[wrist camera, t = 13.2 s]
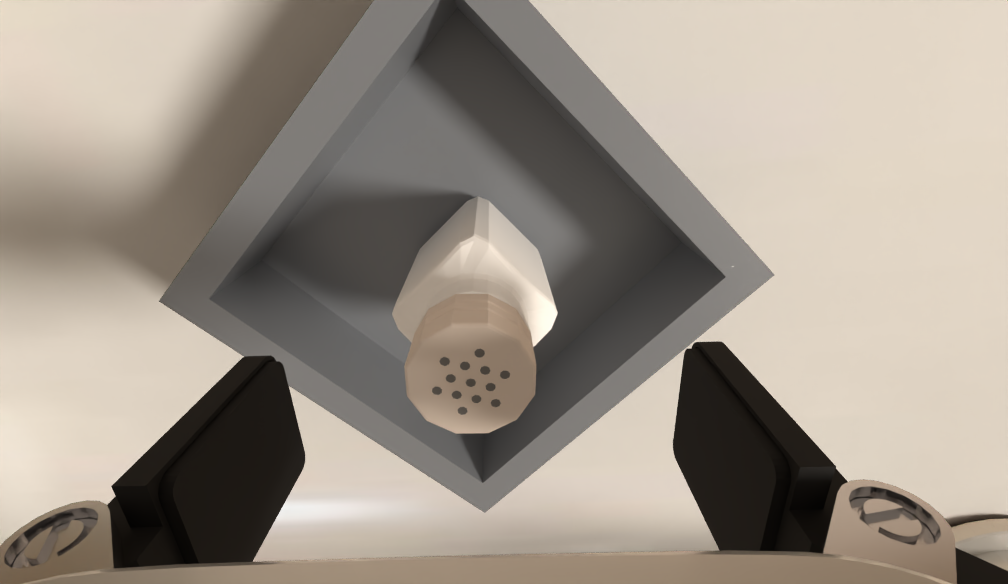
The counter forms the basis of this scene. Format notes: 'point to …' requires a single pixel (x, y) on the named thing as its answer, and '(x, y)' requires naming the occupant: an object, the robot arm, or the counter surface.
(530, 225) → the bin
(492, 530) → the counter surface
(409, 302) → the pepper shaker
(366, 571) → the robot arm
